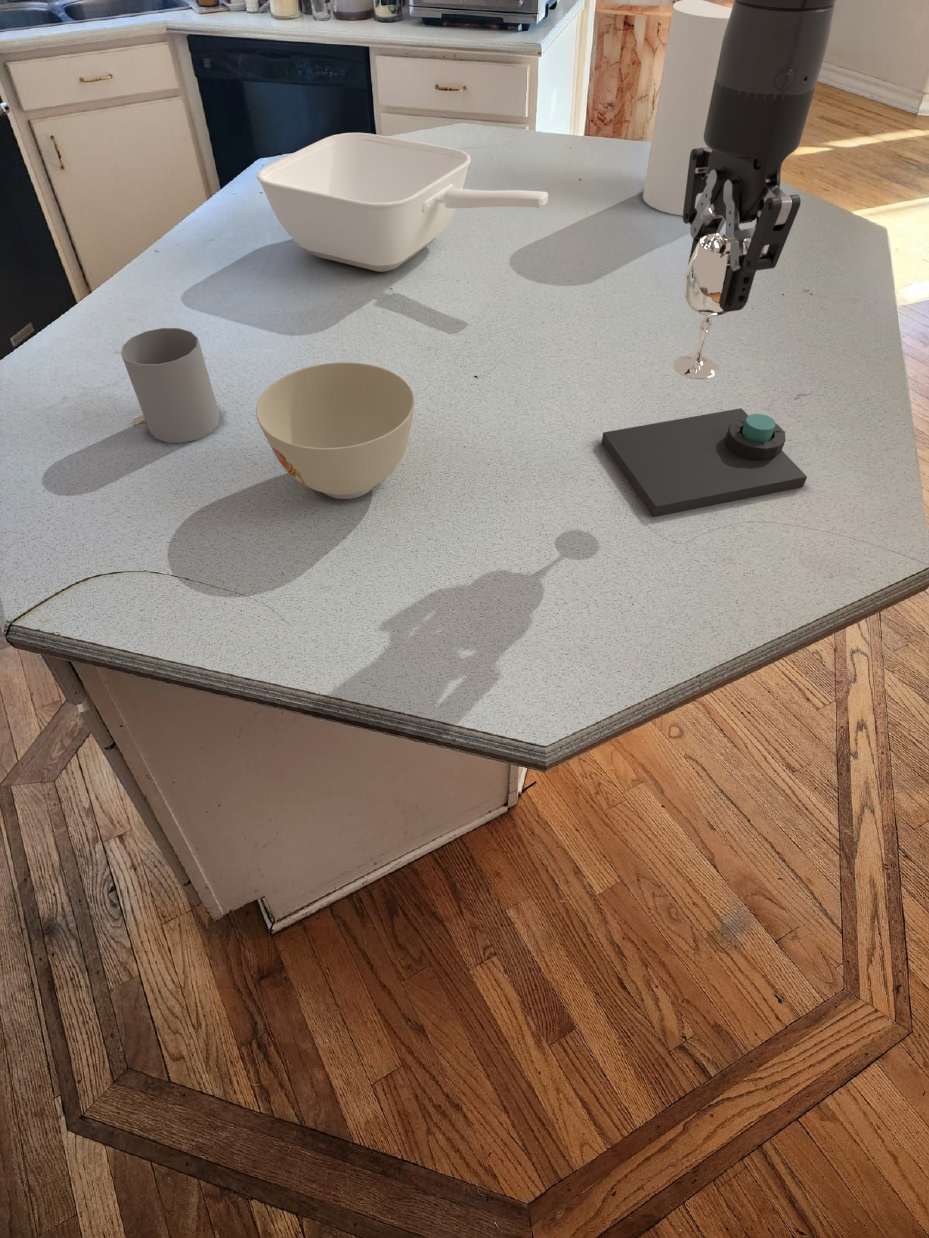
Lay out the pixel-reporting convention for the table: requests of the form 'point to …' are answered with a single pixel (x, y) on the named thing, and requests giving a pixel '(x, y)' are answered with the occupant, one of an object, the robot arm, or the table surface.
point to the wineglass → (705, 296)
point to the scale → (700, 462)
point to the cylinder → (683, 100)
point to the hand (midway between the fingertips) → (713, 293)
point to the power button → (758, 428)
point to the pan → (375, 197)
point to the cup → (171, 384)
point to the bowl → (338, 425)
